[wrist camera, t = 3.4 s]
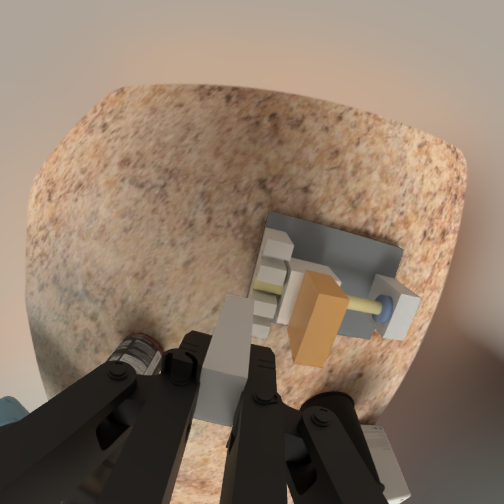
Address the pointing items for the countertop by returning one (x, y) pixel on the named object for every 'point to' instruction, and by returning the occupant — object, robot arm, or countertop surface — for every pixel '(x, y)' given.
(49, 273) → the countertop surface
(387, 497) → the skincare box
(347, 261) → the cord board
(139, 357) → the supplement bottle
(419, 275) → the countertop surface
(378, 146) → the countertop surface
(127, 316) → the countertop surface
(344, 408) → the aerosol can
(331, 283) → the sleeve
